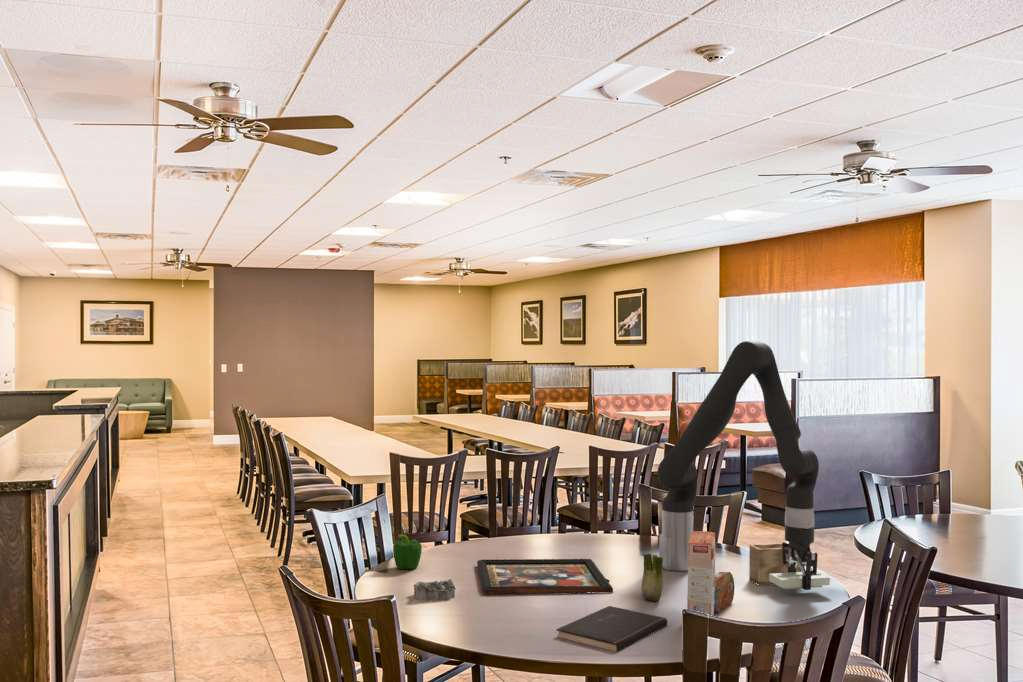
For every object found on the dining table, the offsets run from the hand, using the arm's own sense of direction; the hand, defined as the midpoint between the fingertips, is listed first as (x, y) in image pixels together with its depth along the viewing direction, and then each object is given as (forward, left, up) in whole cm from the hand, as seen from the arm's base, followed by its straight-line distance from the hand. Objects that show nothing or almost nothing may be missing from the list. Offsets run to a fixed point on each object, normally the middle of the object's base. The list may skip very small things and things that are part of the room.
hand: (799, 585), depth 236 cm
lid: (0, 0, +1) cm, 1 cm away
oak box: (0, +12, -2) cm, 13 cm away
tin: (-26, -7, -3) cm, 28 cm away
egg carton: (-96, +17, -3) cm, 98 cm away
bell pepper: (-100, +47, -2) cm, 111 cm away
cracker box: (-37, -19, -2) cm, 41 cm away
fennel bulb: (-41, +2, -2) cm, 41 cm away
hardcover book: (-59, -19, -3) cm, 62 cm away
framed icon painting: (-64, +28, -3) cm, 70 cm away
